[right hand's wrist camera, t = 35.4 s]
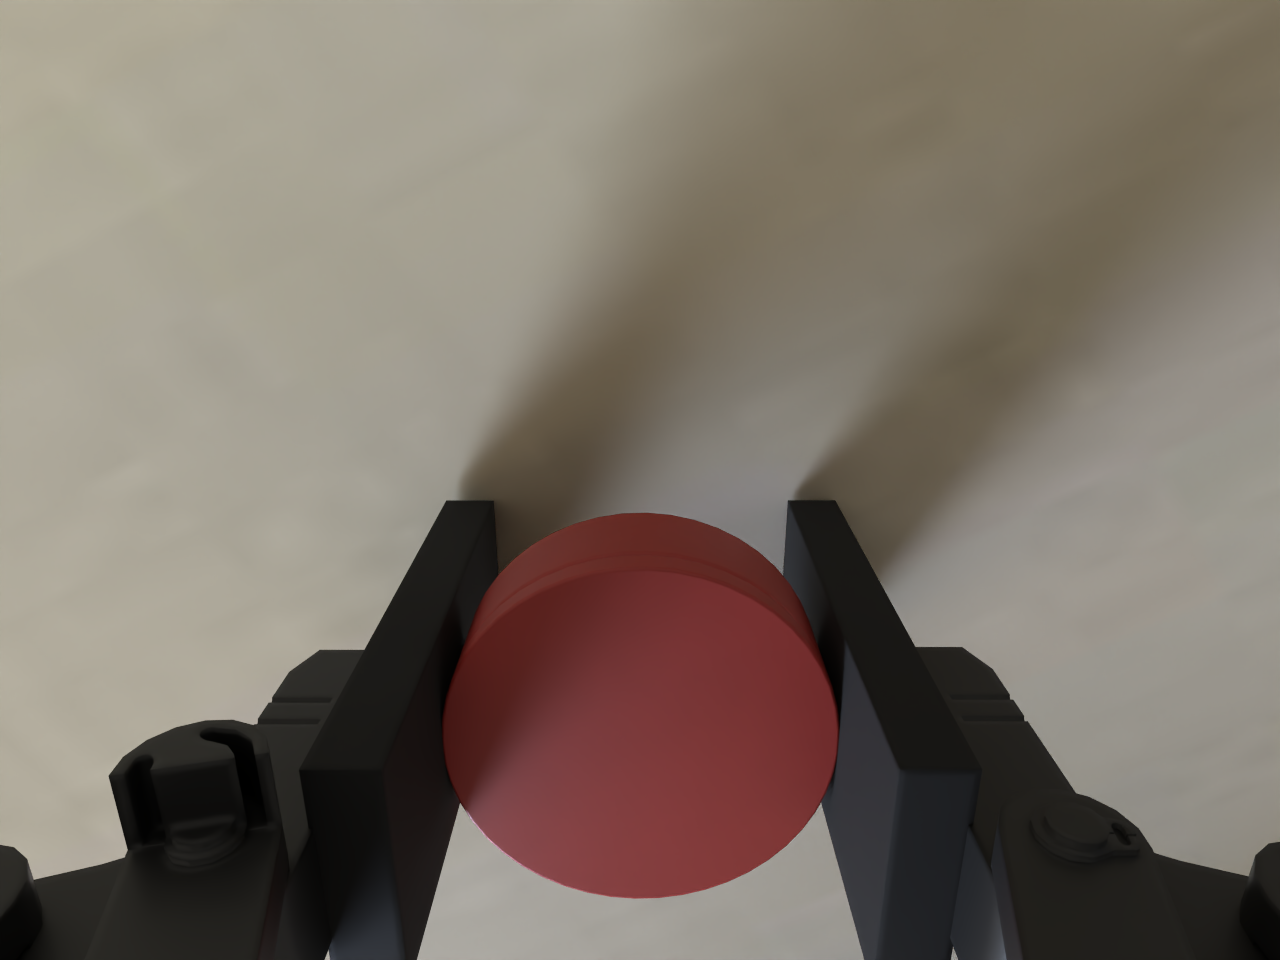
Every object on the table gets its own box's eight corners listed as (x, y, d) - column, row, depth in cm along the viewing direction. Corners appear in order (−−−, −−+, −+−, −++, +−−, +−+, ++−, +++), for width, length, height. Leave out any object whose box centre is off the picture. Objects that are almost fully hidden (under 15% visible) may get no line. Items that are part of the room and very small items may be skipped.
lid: (495, 822, 13) (476, 913, 11) (437, 527, 11) (405, 587, 10) (819, 796, 13) (844, 885, 11) (809, 493, 11) (837, 549, 10)
